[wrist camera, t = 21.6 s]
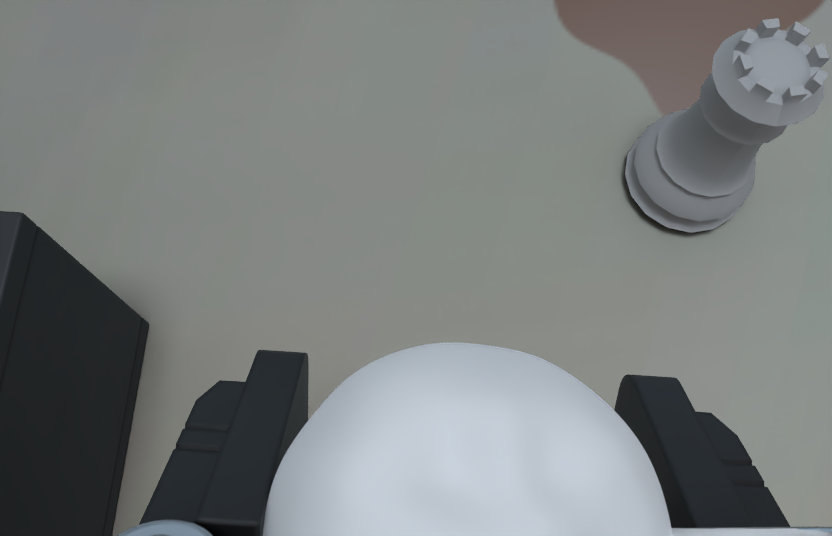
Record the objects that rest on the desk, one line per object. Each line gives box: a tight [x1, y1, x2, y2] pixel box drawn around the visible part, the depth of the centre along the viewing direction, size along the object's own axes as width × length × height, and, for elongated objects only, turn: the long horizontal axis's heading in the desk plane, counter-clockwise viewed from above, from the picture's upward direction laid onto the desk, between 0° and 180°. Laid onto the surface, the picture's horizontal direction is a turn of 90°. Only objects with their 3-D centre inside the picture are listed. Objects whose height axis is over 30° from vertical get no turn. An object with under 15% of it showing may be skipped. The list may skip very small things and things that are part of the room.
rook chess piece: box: [625, 18, 829, 233], centre depth 25 cm, size 4×4×8 cm
